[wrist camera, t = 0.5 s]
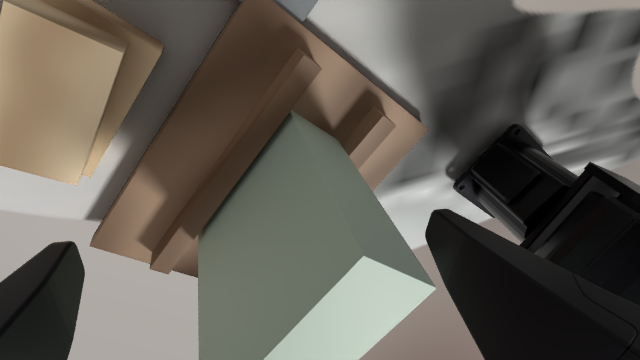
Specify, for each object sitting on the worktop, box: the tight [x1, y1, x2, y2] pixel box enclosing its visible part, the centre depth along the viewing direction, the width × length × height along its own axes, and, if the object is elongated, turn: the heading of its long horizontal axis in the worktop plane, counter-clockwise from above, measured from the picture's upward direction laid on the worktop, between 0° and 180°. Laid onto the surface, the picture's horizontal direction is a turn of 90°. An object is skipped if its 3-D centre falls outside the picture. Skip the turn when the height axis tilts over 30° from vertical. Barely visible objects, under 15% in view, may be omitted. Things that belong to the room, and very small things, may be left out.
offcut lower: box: [40, 0, 164, 177], centre depth 18 cm, size 5×8×2 cm, turn 141°
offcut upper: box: [0, 0, 130, 186], centre depth 16 cm, size 4×7×2 cm, turn 148°
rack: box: [90, 0, 429, 278], centre depth 23 cm, size 14×18×2 cm
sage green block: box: [198, 110, 436, 360], centre depth 19 cm, size 4×10×12 cm, turn 140°
